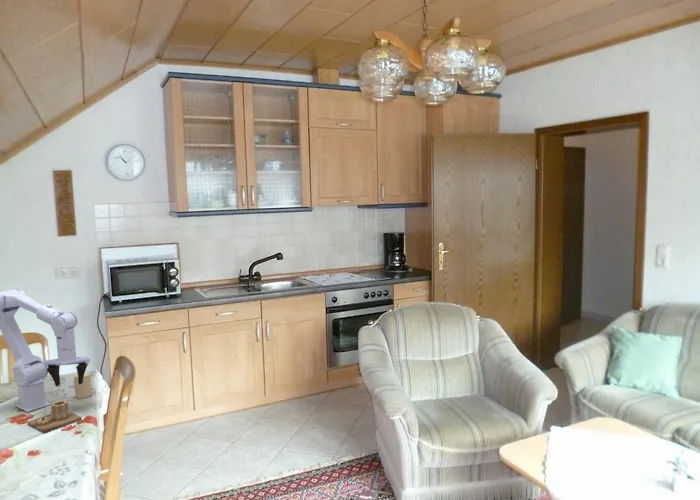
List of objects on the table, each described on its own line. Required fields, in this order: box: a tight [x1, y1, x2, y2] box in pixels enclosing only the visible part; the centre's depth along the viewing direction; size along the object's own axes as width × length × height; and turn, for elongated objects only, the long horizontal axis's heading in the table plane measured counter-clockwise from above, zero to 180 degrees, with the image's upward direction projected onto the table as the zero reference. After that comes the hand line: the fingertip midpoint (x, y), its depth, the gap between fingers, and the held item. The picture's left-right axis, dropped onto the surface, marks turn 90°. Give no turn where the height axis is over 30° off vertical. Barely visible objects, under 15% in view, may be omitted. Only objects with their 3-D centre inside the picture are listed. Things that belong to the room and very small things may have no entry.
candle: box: [73, 370, 92, 400], centre depth 193 cm, size 6×6×10 cm
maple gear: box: [50, 399, 70, 421], centre depth 172 cm, size 5×5×5 cm
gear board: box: [26, 411, 83, 434], centre depth 171 cm, size 12×12×5 cm
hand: (69, 384), depth 180 cm, fingers open, 7 cm apart
